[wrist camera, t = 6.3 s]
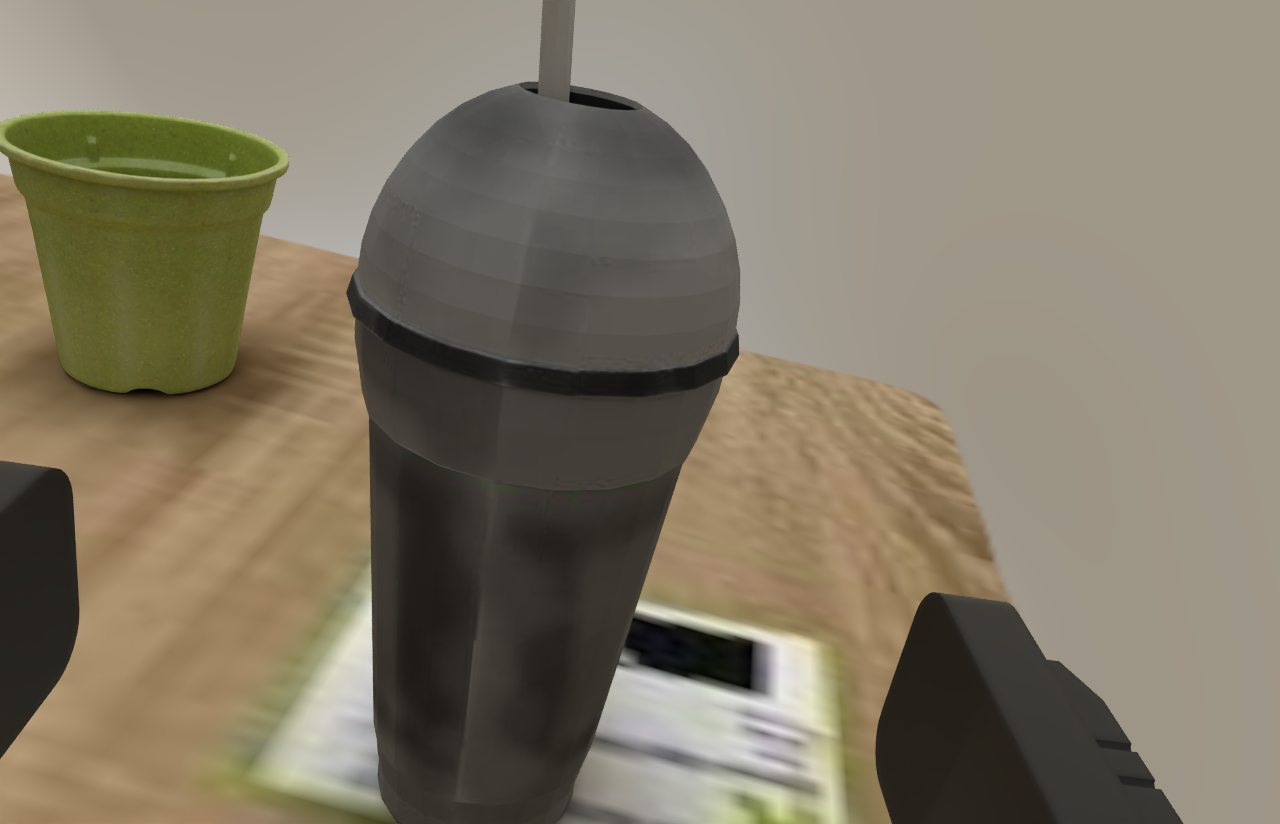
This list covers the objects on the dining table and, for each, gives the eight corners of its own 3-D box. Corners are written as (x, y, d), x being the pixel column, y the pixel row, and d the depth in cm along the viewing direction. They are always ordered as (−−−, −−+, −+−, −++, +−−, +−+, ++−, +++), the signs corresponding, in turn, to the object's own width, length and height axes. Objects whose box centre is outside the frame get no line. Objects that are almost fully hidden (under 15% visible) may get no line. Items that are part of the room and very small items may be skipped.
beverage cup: (694, 797, 24) (948, -140, 16) (449, 978, 19) (642, -271, 11) (496, 636, 28) (620, -176, 20) (250, 749, 23) (283, -284, 15)
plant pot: (329, 366, 43) (342, 158, 39) (151, 446, 34) (146, 191, 31) (153, 304, 45) (150, 103, 42) (-52, 364, 37) (-78, 120, 33)
